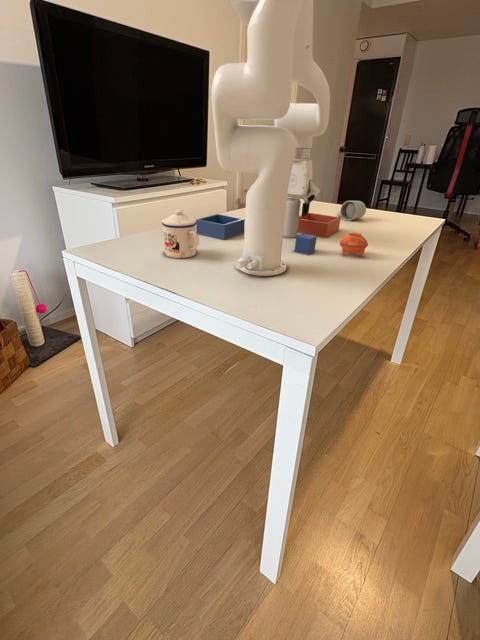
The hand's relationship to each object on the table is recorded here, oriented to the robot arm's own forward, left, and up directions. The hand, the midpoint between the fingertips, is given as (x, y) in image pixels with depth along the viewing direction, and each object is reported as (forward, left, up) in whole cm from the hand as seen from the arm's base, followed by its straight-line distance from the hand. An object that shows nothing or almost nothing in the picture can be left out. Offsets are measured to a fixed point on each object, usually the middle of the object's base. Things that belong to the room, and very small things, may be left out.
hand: (291, 213), depth 112 cm
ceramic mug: (+41, -7, -8) cm, 42 cm away
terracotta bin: (+13, -4, -8) cm, 15 cm away
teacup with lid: (-37, +14, -8) cm, 40 cm away
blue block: (-12, -11, -8) cm, 18 cm away
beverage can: (0, 0, -8) cm, 8 cm away
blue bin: (-12, +20, -8) cm, 25 cm away
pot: (-6, -23, -8) cm, 25 cm away
